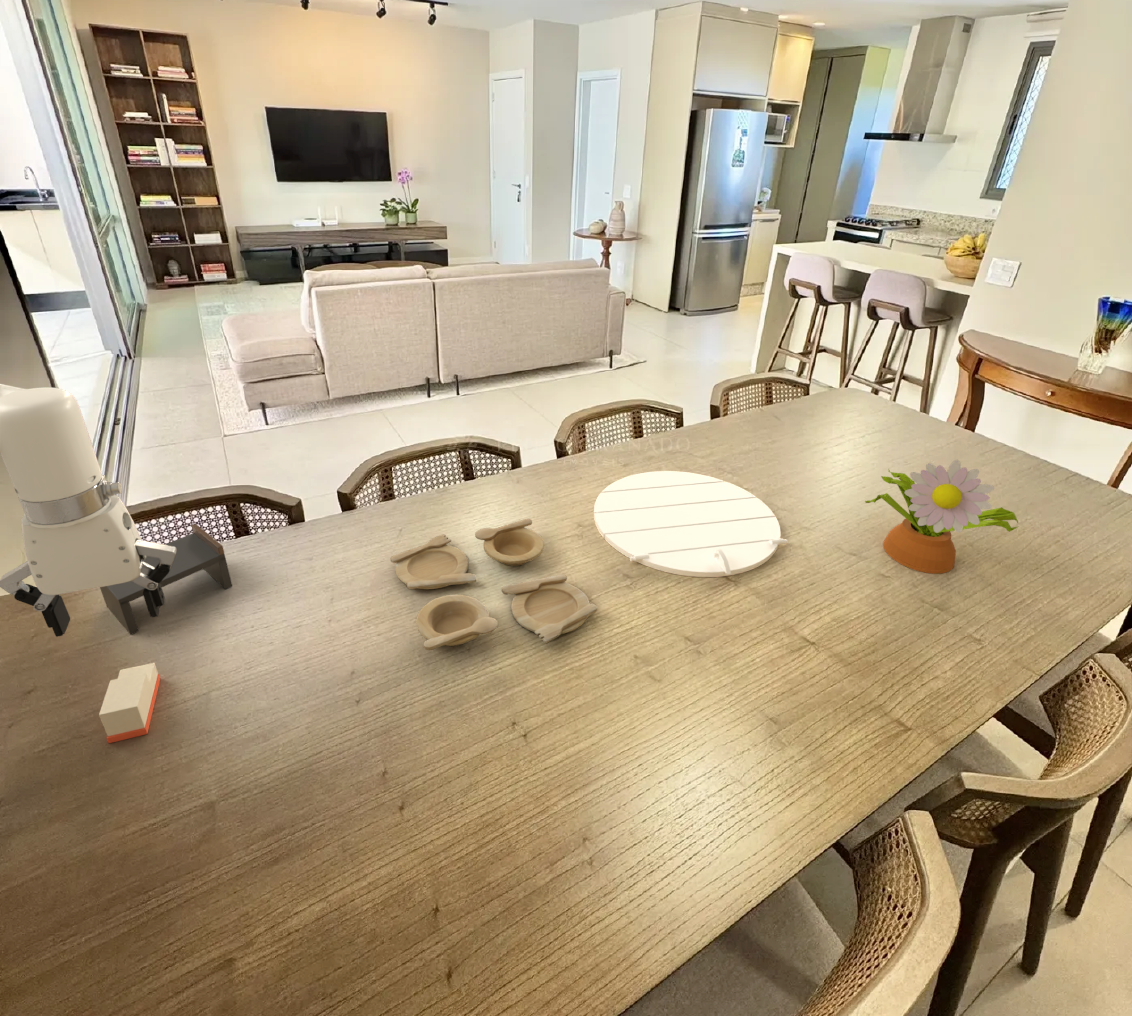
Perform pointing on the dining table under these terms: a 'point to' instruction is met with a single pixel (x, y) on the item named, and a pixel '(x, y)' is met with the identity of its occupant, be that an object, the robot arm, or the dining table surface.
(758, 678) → the dining table surface
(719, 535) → the lazy susan
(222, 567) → the shoe shelf
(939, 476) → the decorative plant
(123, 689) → the orange-based notched block
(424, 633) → the tableware set
